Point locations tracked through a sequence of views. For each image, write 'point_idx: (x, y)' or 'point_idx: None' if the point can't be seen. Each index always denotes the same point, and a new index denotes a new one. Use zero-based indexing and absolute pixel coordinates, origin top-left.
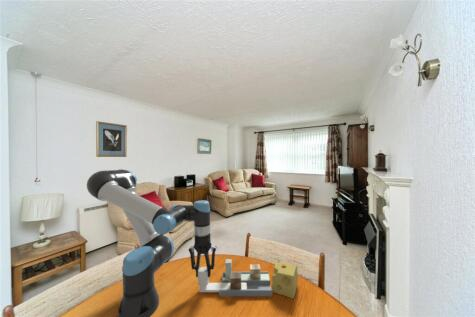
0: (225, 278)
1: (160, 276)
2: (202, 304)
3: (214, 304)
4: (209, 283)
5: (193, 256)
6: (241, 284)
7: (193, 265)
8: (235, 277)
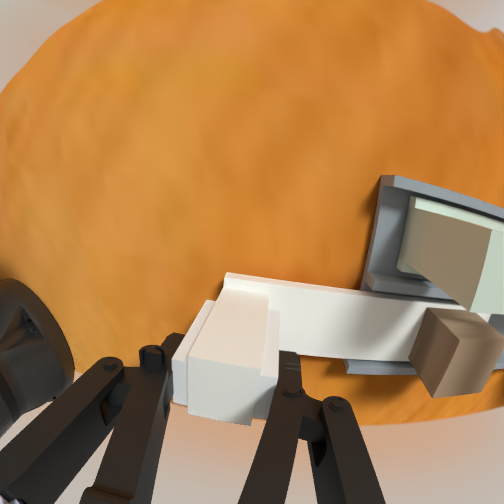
0: (399, 219)
1: (9, 149)
2: None
3: (310, 394)
4: (284, 293)
5: (62, 475)
6: None
7: (110, 423)
8: (462, 387)
